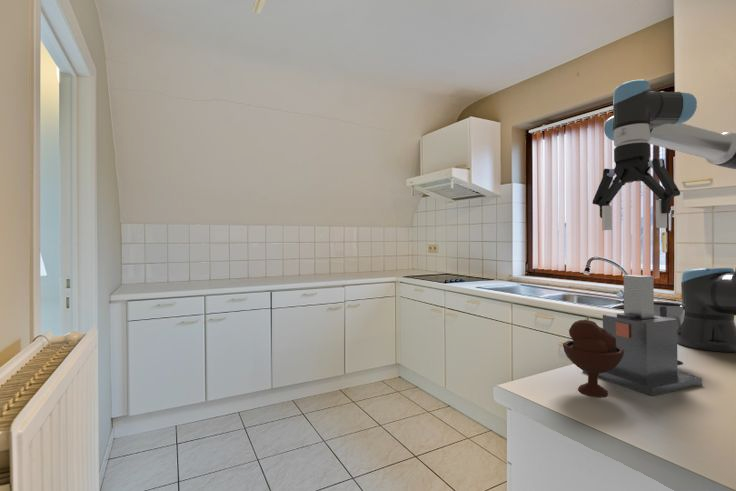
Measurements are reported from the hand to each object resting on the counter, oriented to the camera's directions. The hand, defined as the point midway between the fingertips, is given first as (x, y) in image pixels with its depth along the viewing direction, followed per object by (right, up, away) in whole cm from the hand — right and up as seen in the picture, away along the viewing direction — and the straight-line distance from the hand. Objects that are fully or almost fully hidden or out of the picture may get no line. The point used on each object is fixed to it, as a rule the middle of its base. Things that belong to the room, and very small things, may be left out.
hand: (632, 229), depth 96 cm
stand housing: (-5, -35, -9) cm, 36 cm away
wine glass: (+11, -35, +3) cm, 36 cm away
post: (-5, -32, -9) cm, 34 cm away
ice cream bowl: (-20, -35, -17) cm, 43 cm away
